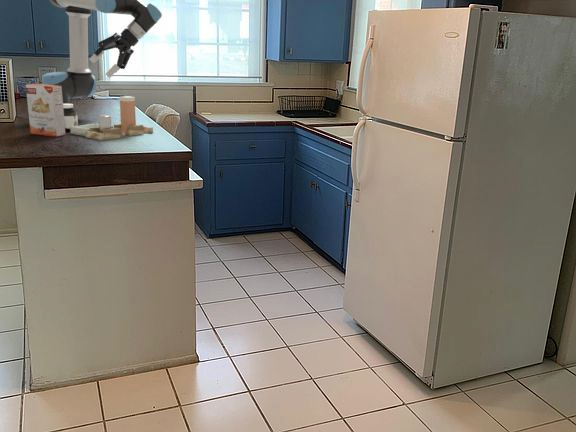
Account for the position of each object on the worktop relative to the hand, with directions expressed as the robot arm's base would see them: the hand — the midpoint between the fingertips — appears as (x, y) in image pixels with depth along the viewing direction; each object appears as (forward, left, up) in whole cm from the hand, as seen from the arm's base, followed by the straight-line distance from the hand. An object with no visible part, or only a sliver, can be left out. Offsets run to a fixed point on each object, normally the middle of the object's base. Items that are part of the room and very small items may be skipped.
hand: (99, 69), depth 248 cm
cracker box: (-8, -23, -27) cm, 37 cm away
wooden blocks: (+14, -3, -27) cm, 30 cm away
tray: (+2, -8, -27) cm, 28 cm away
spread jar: (-14, -10, -27) cm, 32 cm away
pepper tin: (+14, -11, -27) cm, 32 cm away
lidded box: (+14, +2, -27) cm, 31 cm away
